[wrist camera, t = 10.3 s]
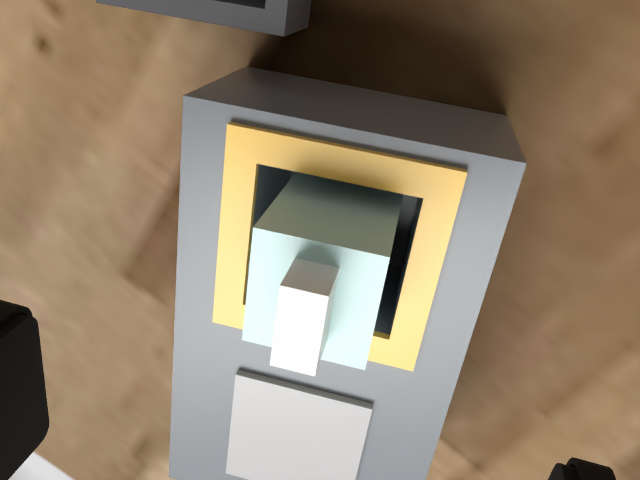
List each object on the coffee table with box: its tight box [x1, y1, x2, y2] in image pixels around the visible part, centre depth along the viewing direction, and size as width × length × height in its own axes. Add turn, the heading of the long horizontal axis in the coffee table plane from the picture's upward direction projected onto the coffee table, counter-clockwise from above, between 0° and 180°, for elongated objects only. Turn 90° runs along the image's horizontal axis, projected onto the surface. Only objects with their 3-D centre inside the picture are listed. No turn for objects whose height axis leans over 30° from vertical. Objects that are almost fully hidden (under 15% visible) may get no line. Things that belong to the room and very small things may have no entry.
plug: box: [242, 172, 403, 376], centre depth 18 cm, size 4×4×10 cm
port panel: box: [169, 66, 527, 480], centre depth 22 cm, size 16×10×6 cm, turn 172°
